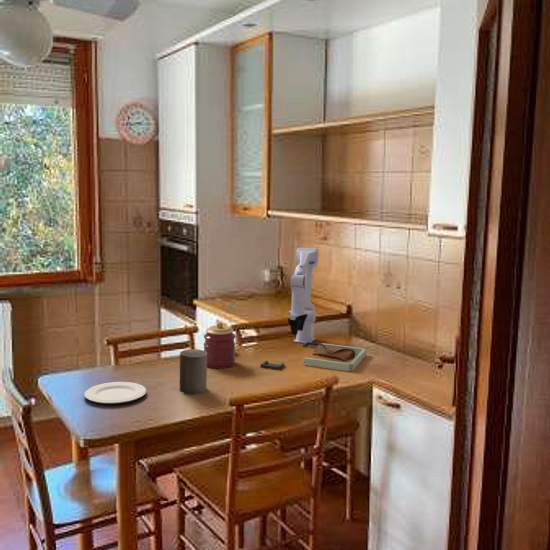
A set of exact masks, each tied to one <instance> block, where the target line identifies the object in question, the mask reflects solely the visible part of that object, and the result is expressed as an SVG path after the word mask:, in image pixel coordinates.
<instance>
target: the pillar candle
mask: <svg viewBox="0 0 550 550" xmlns="http://www.w3.org/2000/svg"><path fill="white" fill-rule="evenodd" d="M207 368H208V367H207V352H205V351H204V349H203V350H202V349H198V348H197V349H193V348H191V349H190V348H189V349H184V350H182V351H181V350H180V353H179V389H178V390H179V392H180V393H183V392H184V393H183V394H187V393H188V395H198V394H203V393H204V392H206V391H207V380H208V379H207V373H208V369H207ZM195 393H196V394H195ZM197 393H198V394H197Z"/></svg>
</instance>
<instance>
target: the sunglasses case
mask: <svg viewBox="0 0 550 550" xmlns="http://www.w3.org/2000/svg"><path fill="white" fill-rule="evenodd" d="M315 355H318V357H322V356H323V357H324V358H329V359H334V360H338V361H341V362H348V361H350V360H353V359H355V357H356V355H355V352H354V350H351V349H344V348H339V347H334V346H327V345H323V344H322V343H320V344H318V346H317V348H316V349H314V350H313V352H312V355H311V356H315ZM323 357H322V358H323Z"/></svg>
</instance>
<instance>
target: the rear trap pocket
mask: <svg viewBox="0 0 550 550" xmlns="http://www.w3.org/2000/svg"><path fill="white" fill-rule="evenodd" d="M302 344H303V345H302V347H303V348H307V347H310V348H309V349H314V348H317V346H318V344H321V343H320V342H318V343H317V342H313V341H312V342H306V343H302Z"/></svg>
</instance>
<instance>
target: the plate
mask: <svg viewBox="0 0 550 550" xmlns="http://www.w3.org/2000/svg"><path fill="white" fill-rule="evenodd" d="M146 394H147V388H146V387H145V386H144V385H141V384H139V383H136V382H129V381H112V382H105V383H100V384H96V385H93V386H91V387H89V388H87V390H86V391H84V397H85V399H86V400H89V401H90V402H92V403H96V404H103V405H121V403H122V404H125V403H126V404H127V403H130V402H134V401H136V400H139V399H141V398H143V397H144V396H145V395H146Z"/></svg>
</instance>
